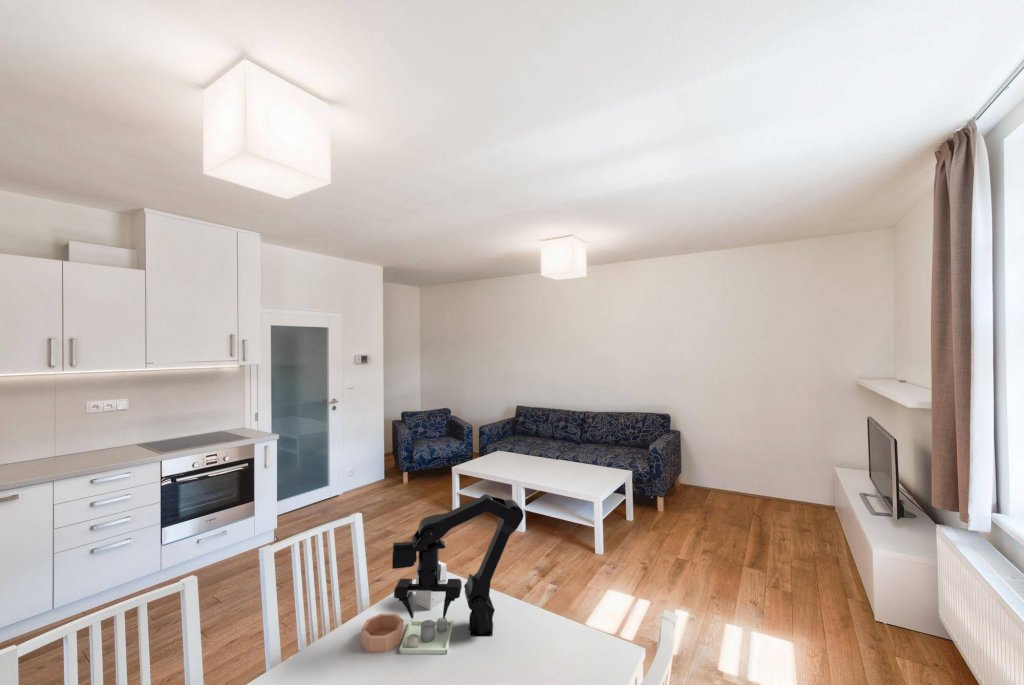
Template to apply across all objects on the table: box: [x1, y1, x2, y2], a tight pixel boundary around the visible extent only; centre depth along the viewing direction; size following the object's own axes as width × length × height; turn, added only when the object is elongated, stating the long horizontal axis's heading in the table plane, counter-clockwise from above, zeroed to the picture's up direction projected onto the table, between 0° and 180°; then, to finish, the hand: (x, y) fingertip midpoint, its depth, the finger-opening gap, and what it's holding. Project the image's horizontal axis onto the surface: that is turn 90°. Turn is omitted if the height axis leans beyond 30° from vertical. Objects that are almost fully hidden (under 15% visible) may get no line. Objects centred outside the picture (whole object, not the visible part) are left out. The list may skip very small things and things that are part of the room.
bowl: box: [360, 613, 405, 653], centre depth 124 cm, size 11×11×4 cm
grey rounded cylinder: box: [421, 619, 435, 643], centre depth 124 cm, size 4×4×4 cm
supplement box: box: [415, 560, 447, 611], centre depth 142 cm, size 7×7×13 cm
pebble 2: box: [436, 617, 448, 633], centre depth 128 cm, size 3×3×3 cm
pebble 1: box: [407, 634, 418, 648], centre depth 120 cm, size 3×3×3 cm
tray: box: [398, 619, 454, 655], centre depth 124 cm, size 13×13×2 cm
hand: (428, 617), depth 124 cm, fingers open, 9 cm apart
